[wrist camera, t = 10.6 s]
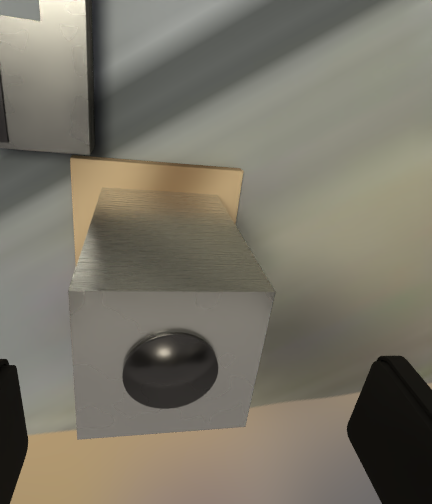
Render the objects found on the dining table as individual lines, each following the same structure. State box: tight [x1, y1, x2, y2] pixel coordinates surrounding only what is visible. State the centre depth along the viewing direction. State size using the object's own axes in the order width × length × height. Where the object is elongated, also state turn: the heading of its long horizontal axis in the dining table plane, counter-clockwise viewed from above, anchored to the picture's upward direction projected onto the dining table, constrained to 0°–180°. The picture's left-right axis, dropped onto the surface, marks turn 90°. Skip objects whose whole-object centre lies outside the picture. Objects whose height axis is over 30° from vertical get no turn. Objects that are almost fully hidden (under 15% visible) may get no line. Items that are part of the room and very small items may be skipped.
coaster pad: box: [70, 155, 243, 266], centre depth 19 cm, size 8×8×1 cm
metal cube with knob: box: [68, 187, 275, 439], centre depth 15 cm, size 6×6×9 cm
